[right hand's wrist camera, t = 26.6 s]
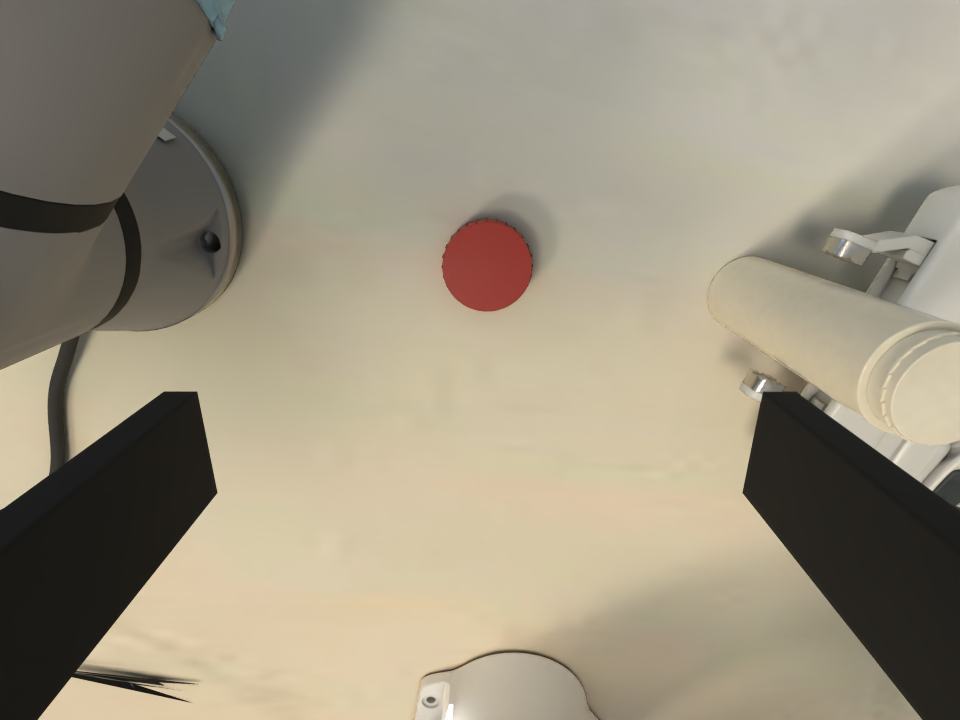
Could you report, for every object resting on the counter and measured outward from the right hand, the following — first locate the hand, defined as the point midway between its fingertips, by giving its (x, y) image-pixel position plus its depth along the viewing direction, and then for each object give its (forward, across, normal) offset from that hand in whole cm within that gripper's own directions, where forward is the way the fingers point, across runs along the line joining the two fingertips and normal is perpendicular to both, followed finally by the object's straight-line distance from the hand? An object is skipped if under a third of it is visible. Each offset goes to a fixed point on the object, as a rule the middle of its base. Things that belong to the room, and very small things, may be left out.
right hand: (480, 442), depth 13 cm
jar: (+26, +19, -3) cm, 32 cm away
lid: (+25, 0, 0) cm, 25 cm away
